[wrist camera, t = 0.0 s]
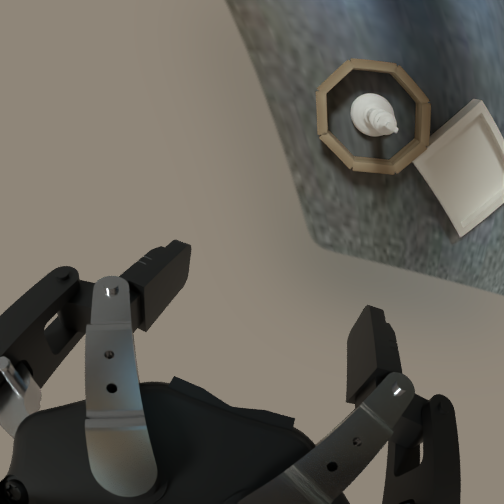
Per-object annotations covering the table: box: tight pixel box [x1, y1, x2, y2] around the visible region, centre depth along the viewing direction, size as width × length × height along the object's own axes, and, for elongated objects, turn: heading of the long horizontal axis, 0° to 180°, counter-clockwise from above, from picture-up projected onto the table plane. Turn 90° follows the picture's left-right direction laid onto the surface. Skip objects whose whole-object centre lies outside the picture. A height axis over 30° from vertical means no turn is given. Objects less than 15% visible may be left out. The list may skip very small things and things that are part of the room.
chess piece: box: [351, 93, 399, 137], centre depth 20 cm, size 5×5×10 cm
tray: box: [412, 99, 504, 238], centre depth 22 cm, size 12×12×2 cm
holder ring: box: [316, 59, 431, 175], centre depth 23 cm, size 12×12×2 cm
